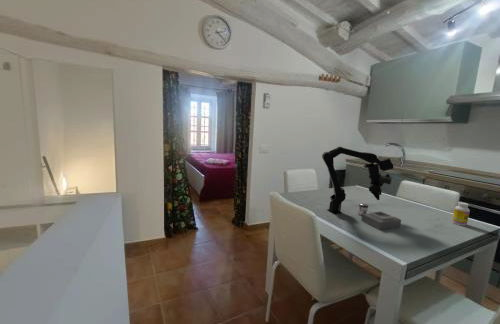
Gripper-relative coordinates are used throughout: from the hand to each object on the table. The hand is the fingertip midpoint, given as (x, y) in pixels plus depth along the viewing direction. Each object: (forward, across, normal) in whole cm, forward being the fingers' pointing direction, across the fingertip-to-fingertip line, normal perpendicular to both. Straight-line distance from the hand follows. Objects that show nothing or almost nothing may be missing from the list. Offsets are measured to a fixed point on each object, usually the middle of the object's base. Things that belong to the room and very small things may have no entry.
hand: (379, 197), depth 141 cm
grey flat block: (+11, -13, 0) cm, 17 cm away
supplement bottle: (+27, +20, -36) cm, 49 cm away
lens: (+9, -6, +11) cm, 15 cm away
